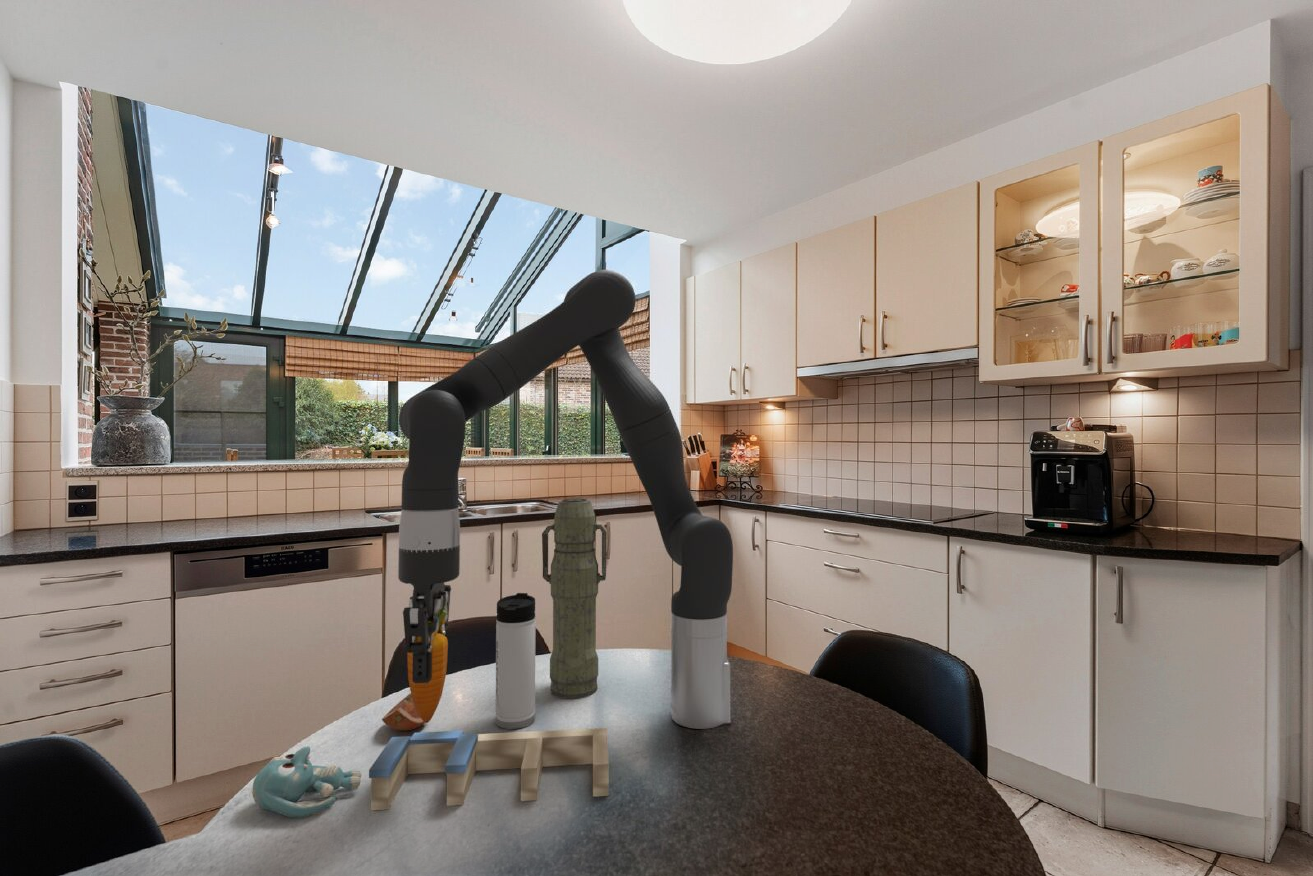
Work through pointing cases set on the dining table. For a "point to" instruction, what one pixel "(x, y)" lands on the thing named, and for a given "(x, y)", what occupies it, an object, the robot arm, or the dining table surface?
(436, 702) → the carrot
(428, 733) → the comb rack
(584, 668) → the thermos
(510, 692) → the travel mug
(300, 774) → the stuffed animal
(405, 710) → the fruit slice
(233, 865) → the dining table surface
